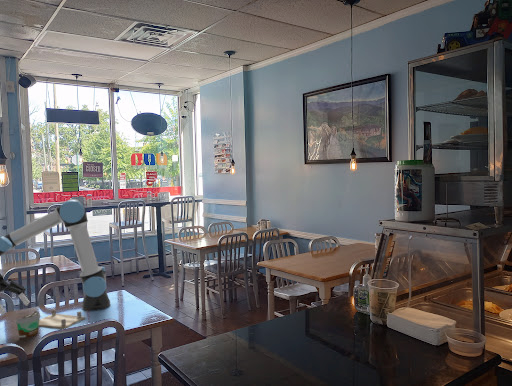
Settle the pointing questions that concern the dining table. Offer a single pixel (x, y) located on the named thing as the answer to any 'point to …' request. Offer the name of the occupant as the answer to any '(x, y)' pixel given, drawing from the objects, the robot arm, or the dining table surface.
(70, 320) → the pin plate
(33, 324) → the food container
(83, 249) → the robot arm
